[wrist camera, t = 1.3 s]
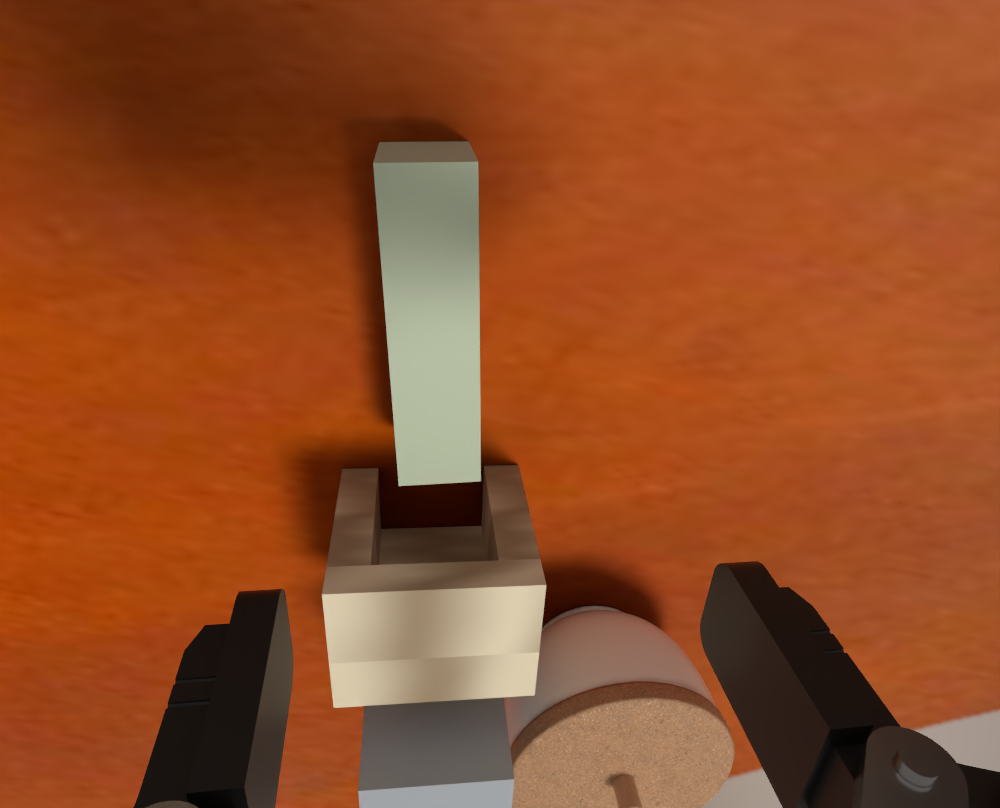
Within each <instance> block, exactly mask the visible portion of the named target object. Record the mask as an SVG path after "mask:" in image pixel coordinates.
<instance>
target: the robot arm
mask: <svg viewBox="0 0 1000 808" xmlns="http://www.w3.org/2000/svg"><path fill="white" fill-rule="evenodd" d="M700 633H701V640H702V645H703V648H704V651H705V654H706V656H707V658H708V660H709V662H710V664H711V666H712V668H713V670H714V672H715V674H716V676H717V678H718V680H719V682H720V684H721V686H722V688H723V690H724V692H725V694H726V696H727V698H728V700H729V702H730V704H731V706H732V708H733V710H734V711H735V713H736V715H737V717H738V719H739V721H740V723H741V725H742V727H743V729H744V731H745V733H746V735H747V737H748V739H749V741H750V743H751V745H752V747H753V749H754V751H755V753H756V755H757V757H758V759H759V761H760V763H761V765H762V767H763V769H764V771H765V773H766V775H767V777H768V779H769V781H770V783H771V785H772V787H773V789H774V791H775V793H776V795H777V797H778V799H779V801H780V803H781V805H782V807H783V808H1000V772H996V771H990V770H986V769H981V768H976V767H972V766H967V765H963V764H958V763H956V761H955V760H954V759H953V758H952V757H951V755H950V754H949V753H948V752H947V751H946V750H944V749H943V748H942V747H941V746H940V745H938V744H937V743H936V742H934V741H933V740H931V739H930V738H928V737H926V736H924V735H923V734H921V733H919V732H916V731H914V730H911V729H908V728H904V727H901V726H900V725H899V724H898V723H897V721H896V720H895V719H894V717H893V716H892V714H891V713H890V712H889V710H888V709H887V707H886V706H885V705H884V703H883V702H882V701H881V699H880V698H879V696H878V695H877V694H876V692H875V691H874V690H873V688H872V687H871V685H870V684H869V683H868V681H867V680H866V679H865V677H864V676H863V674H862V673H861V672H860V670H859V669H858V668H857V666H856V665H855V663H854V662H853V661H852V659H851V658H850V657H849V655H848V654H847V653H844V651H843V647H842V646H841V644H840V643H839V641H838V640H837V639H836V637H835V636H834V635H833V634H830V629H829V628H828V626H827V625H826V623H825V622H824V621H823V619H822V618H821V617H820V615H819V614H818V612H817V611H816V610H815V608H814V607H813V606H812V605H811V604H809V603H808V602H807V601H806V600H804V599H803V598H802V597H800V596H799V595H798V594H797V593H795V592H794V591H793V590H792V589H790V588H789V587H783V588H779V587H778V585H777V584H776V582H775V581H774V579H773V578H772V576H771V575H770V574H769V572H768V571H767V569H766V568H765V567H764V565H762V564H761V563H760V562H757V561H754V562H738V563H722V564H719V565H717V566H716V568H715V570H714V573H713V577H712V581H711V585H710V588H709V592H708V596H707V599H706V603H705V607H704V610H703V614H702V618H701V624H700ZM175 680H176V682H175V685H173V688H172V692H171V695H170V698H169V701H168V708H167V709H166V710H165V714H164V717H163V720H162V723H161V726H160V729H159V732H158V736H157V739H156V742H155V745H154V748H153V751H152V754H151V758H150V761H149V764H148V767H147V770H146V773H145V777H144V780H143V783H142V786H141V789H140V792H139V795H138V798H137V801H136V803H135V806H134V808H275V803H276V796H277V789H278V782H279V775H280V768H281V760H282V753H283V746H284V739H285V732H286V725H287V718H288V710H289V703H290V696H291V689H292V680H293V649H292V641H291V634H290V626H289V618H288V611H287V603H286V596H285V592H284V590H283V589H275V590H259V591H242V592H239V593H238V595H237V597H236V600H235V604H234V608H233V612H232V616H231V620H230V624H217V625H205V626H204V627H203V629H202V630H201V631H200V632H199V634H198V635H197V636H196V637H195V638H194V640H193V641H192V642H191V643H190V645H189V646H188V647H187V648H186V649H185V651H184V654H183V657H182V660H181V663H180V666H179V669H178V673H177V676H176V679H175Z"/></svg>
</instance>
